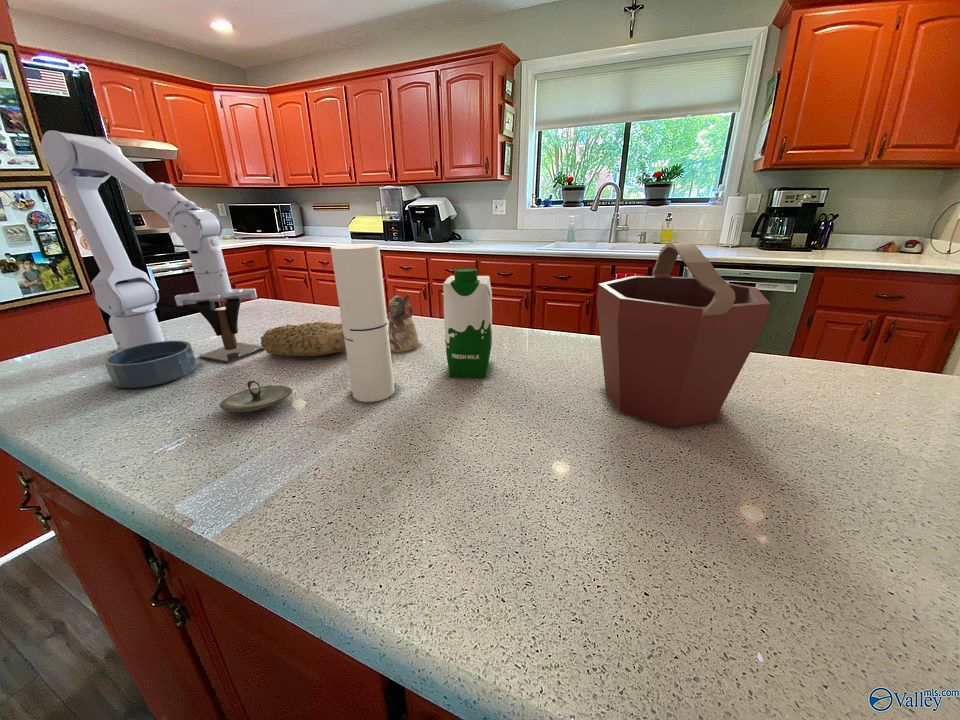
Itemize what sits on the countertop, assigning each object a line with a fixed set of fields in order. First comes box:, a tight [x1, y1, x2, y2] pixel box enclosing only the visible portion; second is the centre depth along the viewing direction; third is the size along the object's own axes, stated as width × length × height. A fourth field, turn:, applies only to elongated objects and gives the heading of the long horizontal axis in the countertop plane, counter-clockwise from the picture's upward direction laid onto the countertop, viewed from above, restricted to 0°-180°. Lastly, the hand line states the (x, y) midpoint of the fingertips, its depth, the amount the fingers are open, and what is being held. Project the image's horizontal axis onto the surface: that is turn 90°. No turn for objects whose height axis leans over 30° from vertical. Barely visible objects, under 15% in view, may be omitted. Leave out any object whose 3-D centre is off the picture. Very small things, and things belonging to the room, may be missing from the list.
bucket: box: [596, 242, 771, 429], centre depth 61 cm, size 24×22×25 cm
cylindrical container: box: [330, 243, 395, 403], centre depth 65 cm, size 7×7×25 cm
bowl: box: [103, 340, 198, 388], centre depth 77 cm, size 13×13×5 cm
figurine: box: [386, 293, 419, 353], centre depth 89 cm, size 7×7×12 cm
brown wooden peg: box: [214, 306, 238, 350], centre depth 87 cm, size 3×3×9 cm
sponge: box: [260, 321, 346, 357], centre depth 87 cm, size 13×8×20 cm
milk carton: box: [442, 267, 493, 378], centre depth 75 cm, size 9×9×20 cm
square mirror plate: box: [199, 342, 264, 364], centre depth 89 cm, size 9×9×1 cm
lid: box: [219, 380, 293, 413], centre depth 65 cm, size 11×10×5 cm
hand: (227, 333), depth 87 cm, fingers closed on brown wooden peg, 2 cm apart
